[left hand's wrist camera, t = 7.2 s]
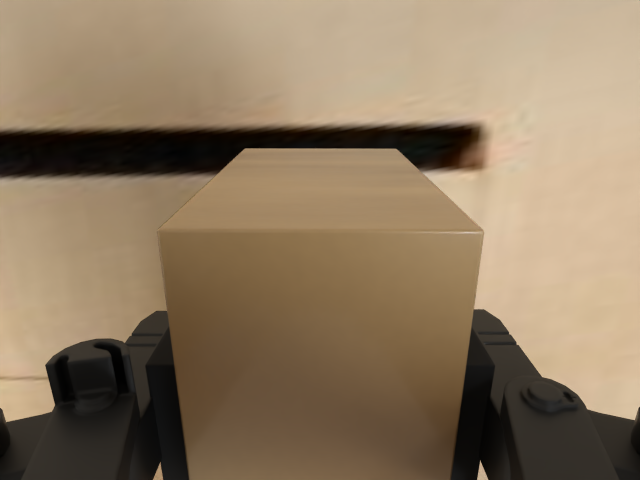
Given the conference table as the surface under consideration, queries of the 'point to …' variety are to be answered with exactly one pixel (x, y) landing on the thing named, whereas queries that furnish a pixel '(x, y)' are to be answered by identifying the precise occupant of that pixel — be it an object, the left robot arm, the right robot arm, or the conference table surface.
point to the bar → (320, 317)
